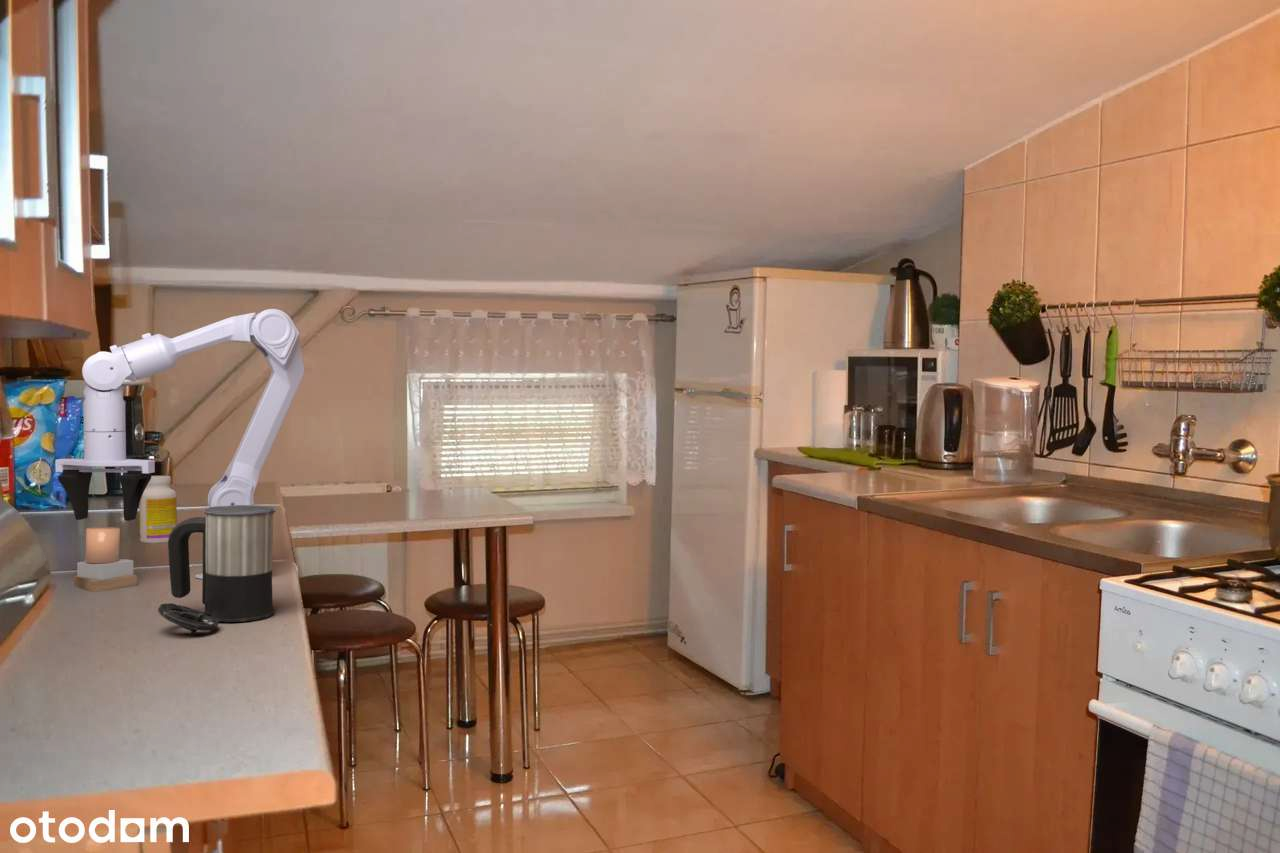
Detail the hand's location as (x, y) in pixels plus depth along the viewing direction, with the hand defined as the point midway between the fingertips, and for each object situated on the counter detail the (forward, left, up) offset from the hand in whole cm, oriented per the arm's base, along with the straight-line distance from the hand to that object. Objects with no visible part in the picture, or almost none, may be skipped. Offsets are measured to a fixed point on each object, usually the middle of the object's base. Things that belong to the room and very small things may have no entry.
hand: (105, 519), depth 158 cm
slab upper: (0, 0, -9) cm, 9 cm away
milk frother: (-34, +2, -11) cm, 36 cm away
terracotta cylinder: (+1, 0, -6) cm, 6 cm away
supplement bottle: (+36, -27, -11) cm, 46 cm away
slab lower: (0, 0, -11) cm, 11 cm away
